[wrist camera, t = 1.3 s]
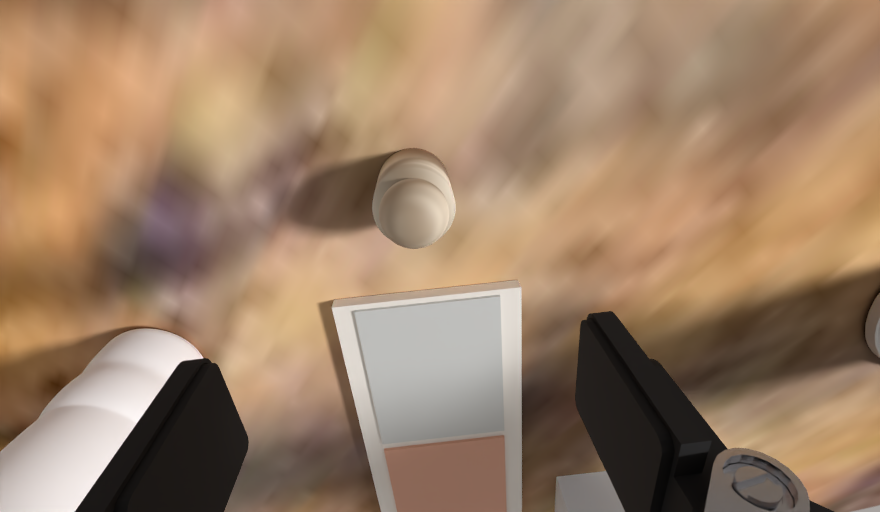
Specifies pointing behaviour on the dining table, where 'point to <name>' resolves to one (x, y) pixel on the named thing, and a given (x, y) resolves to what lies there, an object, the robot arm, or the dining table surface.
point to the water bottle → (88, 422)
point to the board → (439, 395)
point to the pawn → (413, 199)
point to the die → (586, 493)
